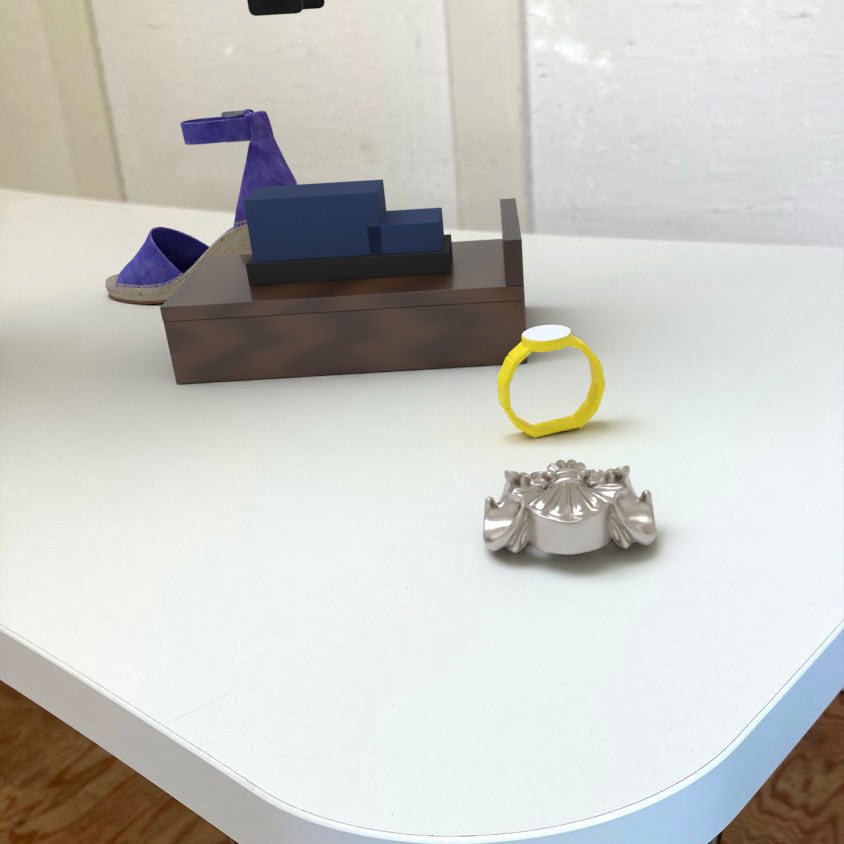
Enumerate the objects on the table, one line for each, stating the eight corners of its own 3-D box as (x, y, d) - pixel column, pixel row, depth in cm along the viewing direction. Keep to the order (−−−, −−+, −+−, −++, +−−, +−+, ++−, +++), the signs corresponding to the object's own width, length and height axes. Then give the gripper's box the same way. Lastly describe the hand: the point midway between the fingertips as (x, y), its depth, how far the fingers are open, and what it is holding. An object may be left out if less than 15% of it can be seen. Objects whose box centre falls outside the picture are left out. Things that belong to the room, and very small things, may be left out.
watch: (594, 414, 63) (592, 317, 61) (610, 431, 61) (609, 330, 58) (497, 429, 62) (490, 331, 59) (509, 447, 60) (503, 345, 57)
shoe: (249, 285, 74) (234, 201, 71) (263, 266, 78) (250, 186, 76) (450, 273, 73) (443, 188, 71) (452, 254, 78) (446, 174, 76)
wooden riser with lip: (175, 384, 72) (149, 261, 68) (220, 324, 85) (201, 217, 81) (528, 363, 72) (521, 239, 68) (521, 305, 85) (515, 198, 81)
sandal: (155, 276, 100) (120, 107, 93) (329, 291, 92) (305, 107, 85) (90, 299, 94) (48, 119, 87) (271, 318, 85) (239, 121, 79)
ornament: (648, 501, 53) (648, 433, 51) (662, 570, 47) (663, 496, 45) (487, 507, 53) (482, 440, 51) (481, 577, 47) (475, 504, 45)
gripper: (213, -283, 68) (257, 10, 76) (135, -358, 53) (200, 20, 61) (330, -290, 68) (361, 4, 76) (286, -367, 53) (331, 12, 61)
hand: (290, 11), depth 68 cm, fingers open, 9 cm apart
